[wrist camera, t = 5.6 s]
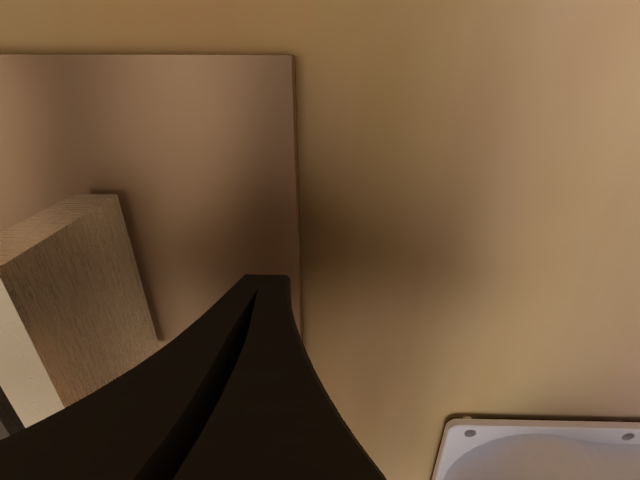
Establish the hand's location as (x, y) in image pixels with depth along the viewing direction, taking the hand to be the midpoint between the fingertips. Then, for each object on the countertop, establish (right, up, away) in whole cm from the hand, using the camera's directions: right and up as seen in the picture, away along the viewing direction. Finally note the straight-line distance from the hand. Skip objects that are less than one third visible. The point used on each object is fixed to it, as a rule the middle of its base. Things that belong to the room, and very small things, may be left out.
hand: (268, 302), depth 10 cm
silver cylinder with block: (-7, -1, +2) cm, 7 cm away
